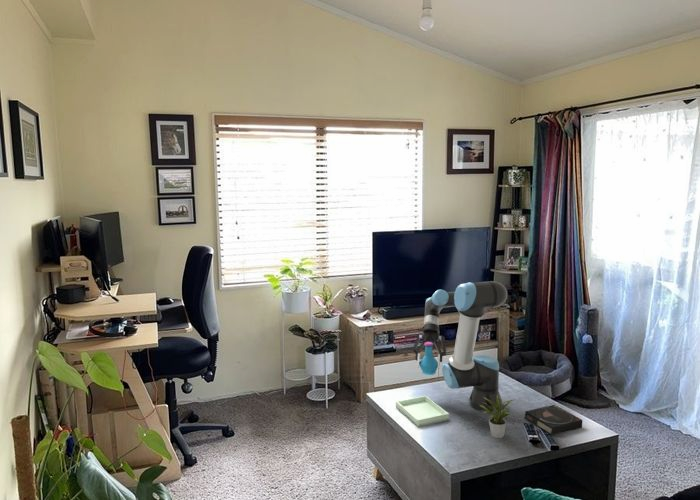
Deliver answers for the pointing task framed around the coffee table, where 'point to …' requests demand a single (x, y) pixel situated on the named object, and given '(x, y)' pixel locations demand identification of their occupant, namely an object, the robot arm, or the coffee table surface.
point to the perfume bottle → (428, 360)
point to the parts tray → (422, 411)
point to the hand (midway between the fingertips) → (428, 367)
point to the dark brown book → (553, 419)
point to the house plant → (497, 417)
